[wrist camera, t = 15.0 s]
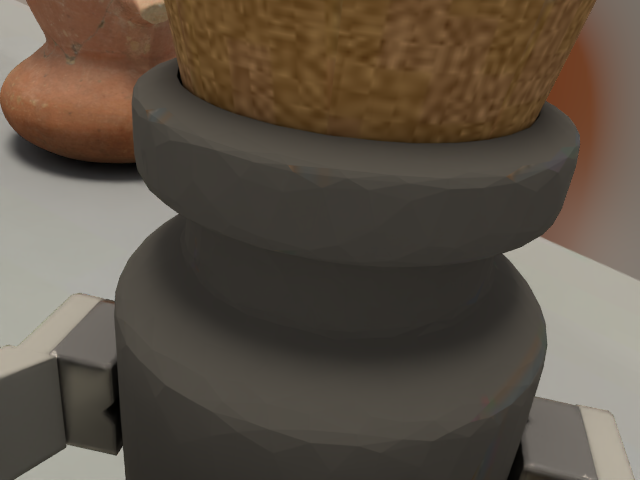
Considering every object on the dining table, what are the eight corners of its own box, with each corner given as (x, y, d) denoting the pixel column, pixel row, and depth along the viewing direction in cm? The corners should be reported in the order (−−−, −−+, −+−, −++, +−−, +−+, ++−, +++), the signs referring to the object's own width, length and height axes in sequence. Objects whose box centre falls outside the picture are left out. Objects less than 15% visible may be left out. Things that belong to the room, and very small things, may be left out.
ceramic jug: (266, 174, 41) (283, -57, 34) (37, 208, 34) (0, -80, 27) (167, 96, 54) (166, -84, 47) (-15, 108, 46) (-50, -105, 39)
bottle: (271, 518, 17) (323, -91, 10) (461, 665, 14) (731, -48, 7) (87, 702, 13) (-57, -133, 6) (304, 969, 10) (584, -70, 3)
